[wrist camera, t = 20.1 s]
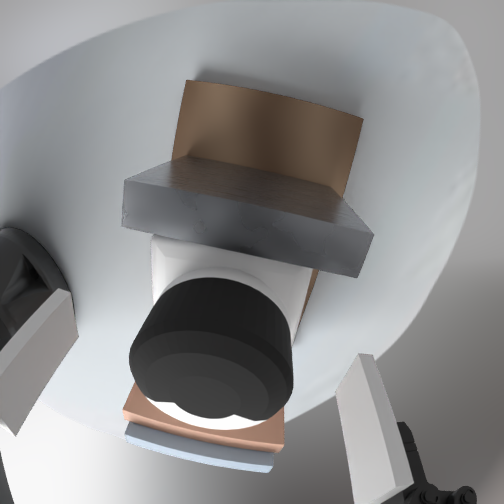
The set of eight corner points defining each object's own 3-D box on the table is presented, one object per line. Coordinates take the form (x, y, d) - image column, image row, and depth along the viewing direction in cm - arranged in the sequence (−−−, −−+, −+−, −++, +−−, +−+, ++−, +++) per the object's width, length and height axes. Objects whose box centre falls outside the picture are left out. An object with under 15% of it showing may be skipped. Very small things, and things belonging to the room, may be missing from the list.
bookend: (181, 183, 20) (121, 226, 11) (185, 155, 19) (124, 180, 11) (323, 214, 20) (357, 278, 12) (331, 187, 19) (374, 234, 11)
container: (190, 195, 20) (89, 296, 8) (301, 210, 20) (340, 336, 8) (186, 290, 23) (126, 425, 11) (282, 304, 23) (286, 453, 11)
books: (169, 328, 25) (122, 440, 14) (171, 307, 24) (116, 422, 13) (274, 351, 25) (272, 473, 14) (282, 331, 24) (284, 458, 13)
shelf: (161, 321, 27) (156, 331, 25) (192, 82, 18) (186, 79, 17) (284, 348, 27) (285, 359, 26) (357, 119, 18) (363, 118, 17)
